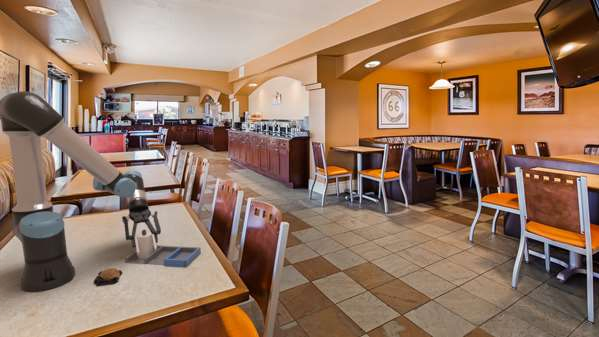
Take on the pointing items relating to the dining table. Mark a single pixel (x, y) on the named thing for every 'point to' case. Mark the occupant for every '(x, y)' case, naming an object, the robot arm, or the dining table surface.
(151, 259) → the gray divided tray
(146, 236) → the cream block with knob
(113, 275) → the bun on dark wrapper
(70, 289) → the dining table surface
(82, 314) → the dining table surface
